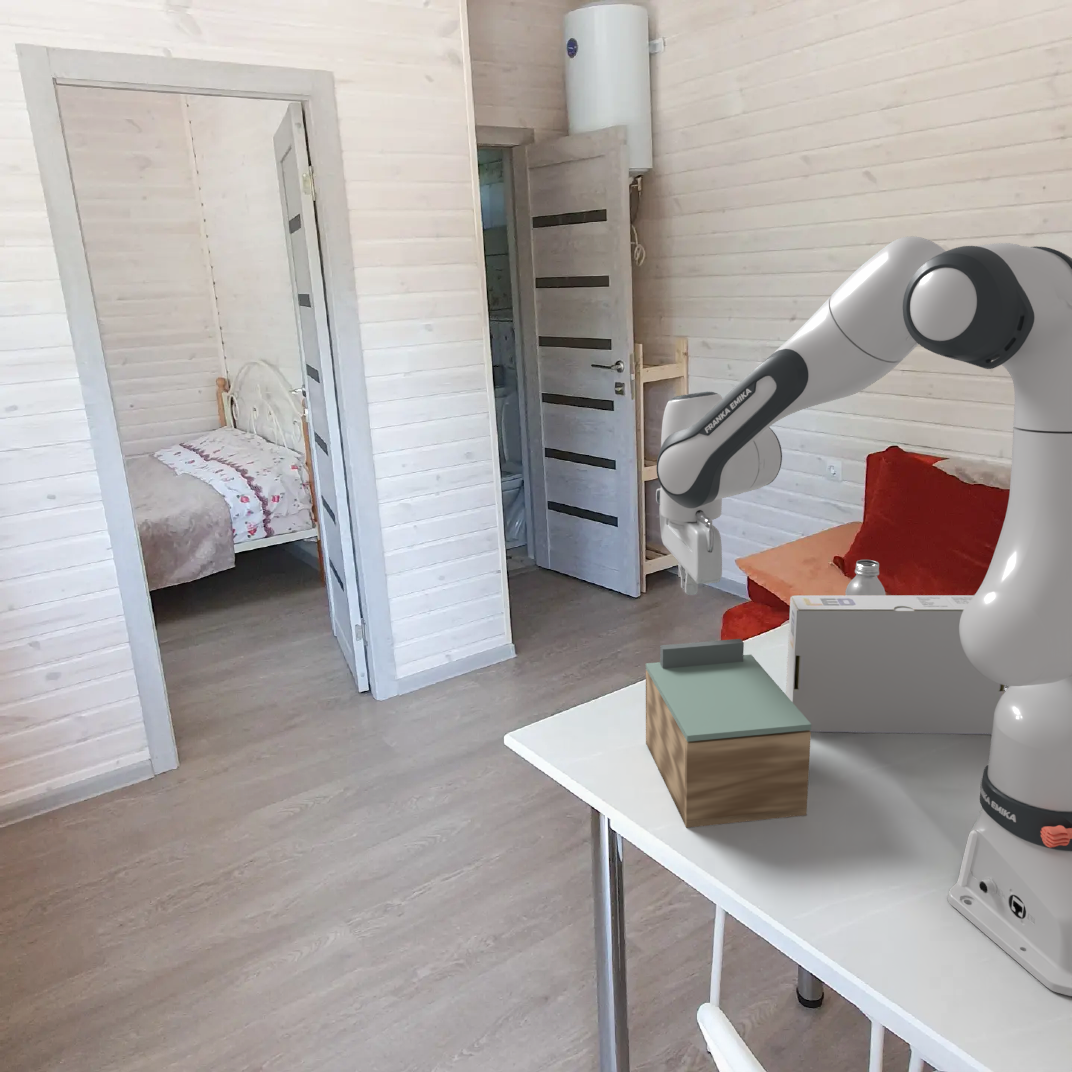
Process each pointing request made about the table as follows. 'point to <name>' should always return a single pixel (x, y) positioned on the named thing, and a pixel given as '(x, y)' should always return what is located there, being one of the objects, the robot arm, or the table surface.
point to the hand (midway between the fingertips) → (689, 591)
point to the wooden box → (728, 770)
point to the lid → (721, 692)
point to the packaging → (886, 665)
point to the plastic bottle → (865, 579)
